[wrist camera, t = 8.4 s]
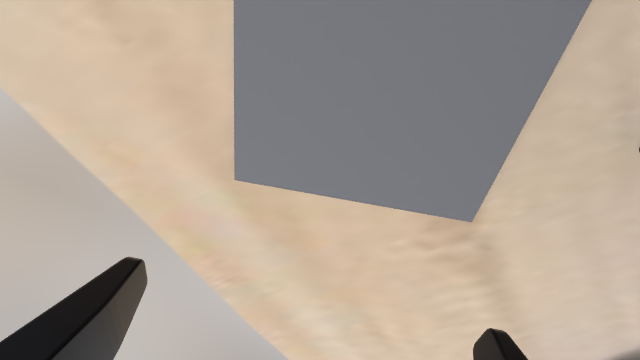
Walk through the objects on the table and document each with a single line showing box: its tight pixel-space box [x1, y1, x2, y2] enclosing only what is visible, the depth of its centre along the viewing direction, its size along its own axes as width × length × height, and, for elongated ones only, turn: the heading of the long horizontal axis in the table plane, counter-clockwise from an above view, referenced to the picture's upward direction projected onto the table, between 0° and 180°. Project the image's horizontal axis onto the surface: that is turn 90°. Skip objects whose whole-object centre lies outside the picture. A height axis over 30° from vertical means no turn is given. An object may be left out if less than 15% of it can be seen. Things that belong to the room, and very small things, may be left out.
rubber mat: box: [234, 0, 592, 222], centre depth 18 cm, size 15×15×1 cm
